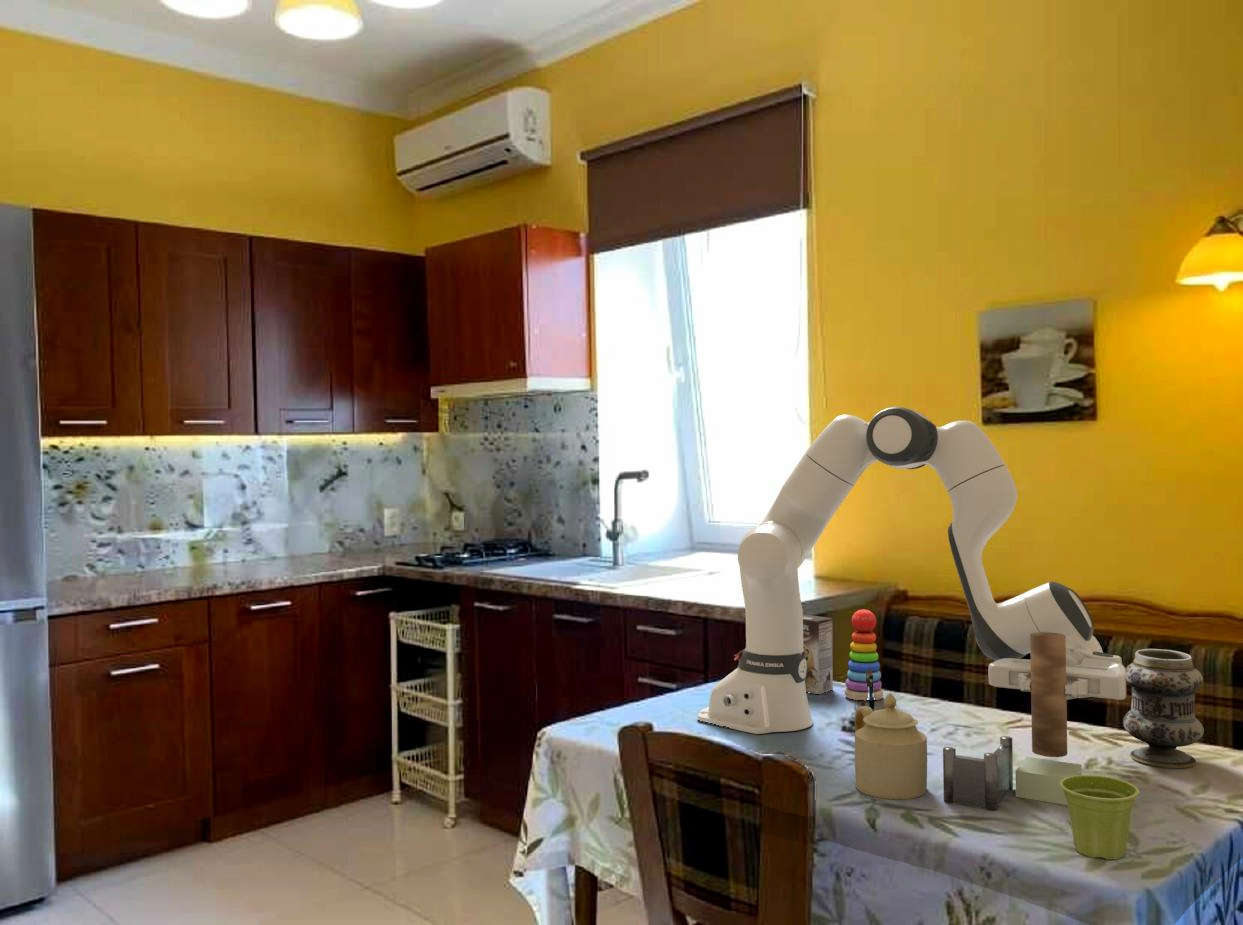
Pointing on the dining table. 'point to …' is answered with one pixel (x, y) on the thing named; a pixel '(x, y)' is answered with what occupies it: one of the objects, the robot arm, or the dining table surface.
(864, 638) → the stacking toy
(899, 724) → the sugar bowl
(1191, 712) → the apothecary jar
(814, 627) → the coffee box
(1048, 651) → the brown wooden cylinder
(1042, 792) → the block
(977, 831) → the dining table surface
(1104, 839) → the plant pot
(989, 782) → the corner post block
